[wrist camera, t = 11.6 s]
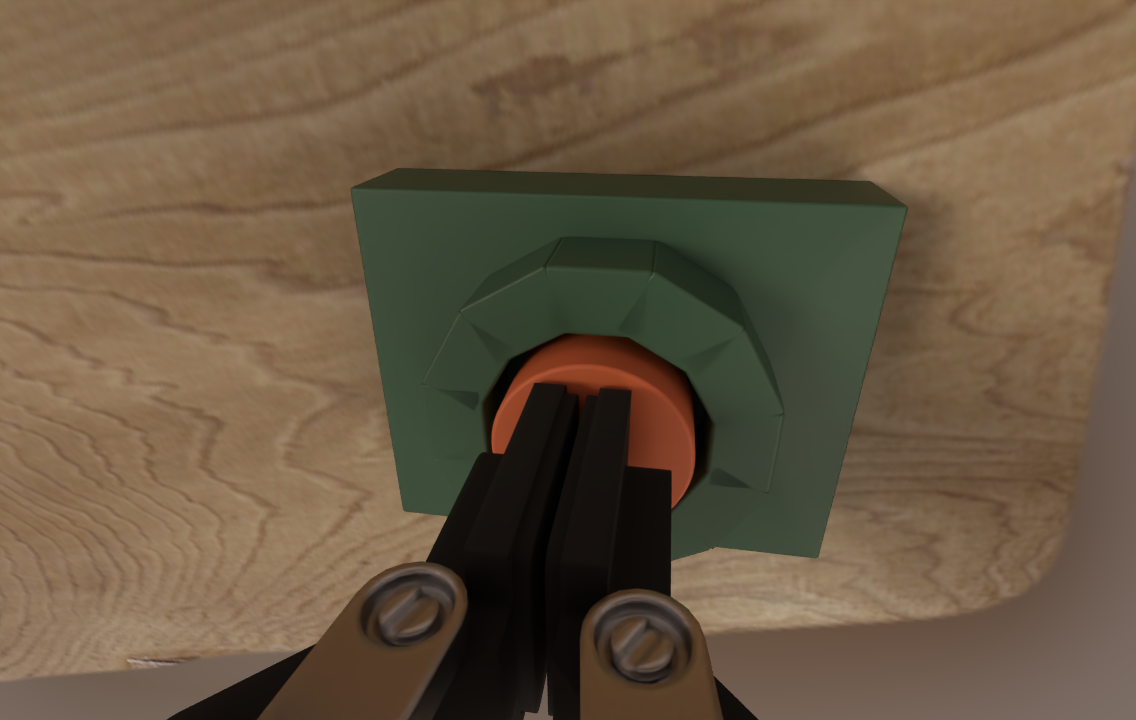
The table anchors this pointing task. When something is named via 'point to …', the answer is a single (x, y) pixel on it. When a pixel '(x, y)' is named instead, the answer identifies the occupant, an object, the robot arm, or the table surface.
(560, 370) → the button
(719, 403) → the green button base
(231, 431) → the table surface
